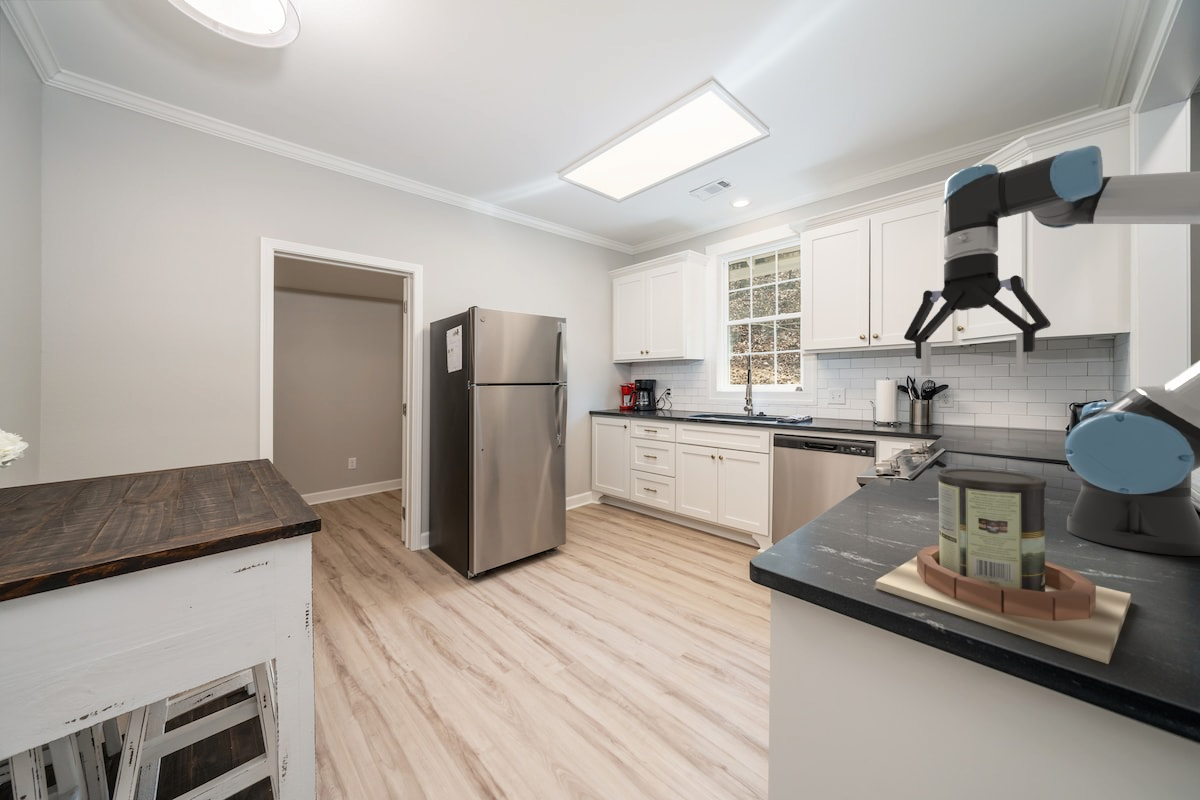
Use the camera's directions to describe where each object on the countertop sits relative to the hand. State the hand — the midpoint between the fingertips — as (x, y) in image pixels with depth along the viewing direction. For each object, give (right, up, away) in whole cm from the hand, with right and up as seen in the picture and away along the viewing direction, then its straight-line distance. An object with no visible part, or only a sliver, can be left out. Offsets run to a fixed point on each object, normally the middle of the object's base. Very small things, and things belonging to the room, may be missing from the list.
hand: (970, 374), depth 79 cm
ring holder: (-18, -29, -25) cm, 42 cm away
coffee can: (-18, -29, -24) cm, 41 cm away
